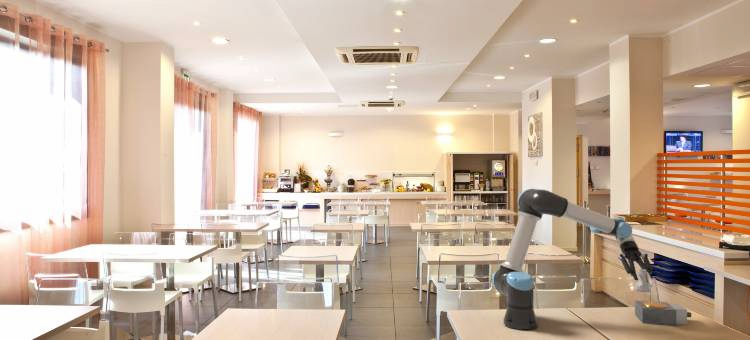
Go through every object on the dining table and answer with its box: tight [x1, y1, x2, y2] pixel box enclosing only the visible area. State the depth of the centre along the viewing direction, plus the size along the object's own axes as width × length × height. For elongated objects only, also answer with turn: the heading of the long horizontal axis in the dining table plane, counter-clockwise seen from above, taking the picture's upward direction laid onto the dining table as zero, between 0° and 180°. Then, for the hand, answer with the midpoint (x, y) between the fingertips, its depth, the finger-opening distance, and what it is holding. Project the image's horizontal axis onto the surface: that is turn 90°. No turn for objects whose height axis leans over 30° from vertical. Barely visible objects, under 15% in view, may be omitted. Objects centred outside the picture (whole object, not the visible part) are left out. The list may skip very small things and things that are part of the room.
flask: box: [633, 268, 651, 293], centre depth 229 cm, size 7×7×10 cm
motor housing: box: [634, 300, 692, 326], centre depth 231 cm, size 22×14×7 cm, turn 75°
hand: (646, 285), depth 225 cm, fingers closed on flask, 4 cm apart
